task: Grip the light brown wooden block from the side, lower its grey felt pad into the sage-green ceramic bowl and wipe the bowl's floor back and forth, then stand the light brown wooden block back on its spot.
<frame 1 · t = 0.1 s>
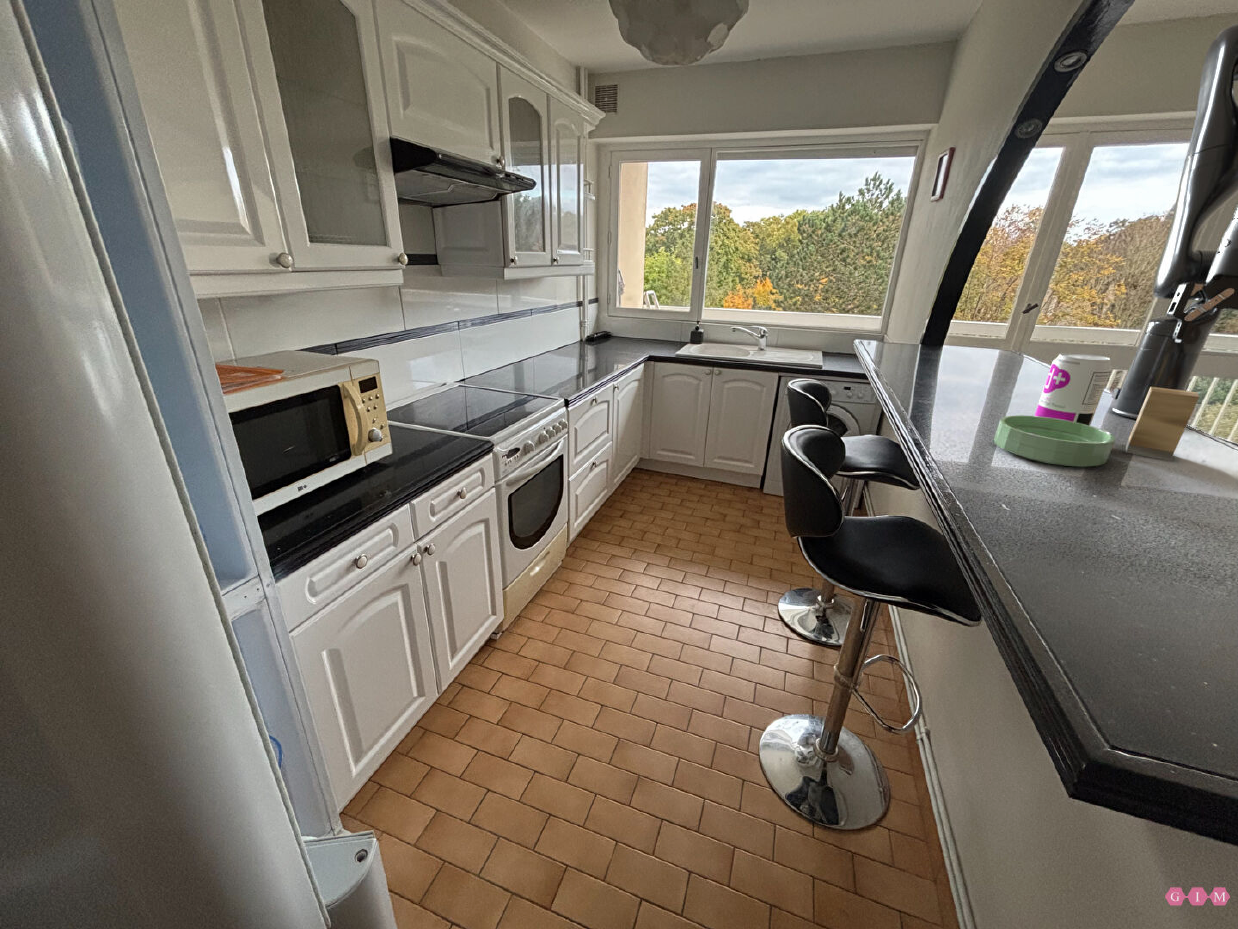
hand: (1211, 344, 92), 17 cm above the countertop, tool pointing down, fingers open, 8 cm apart
bowl: (1046, 452, 88), on the countertop
supplement can: (1055, 436, 97), on the countertop
light brown wooden block: (1147, 453, 88), on the countertop
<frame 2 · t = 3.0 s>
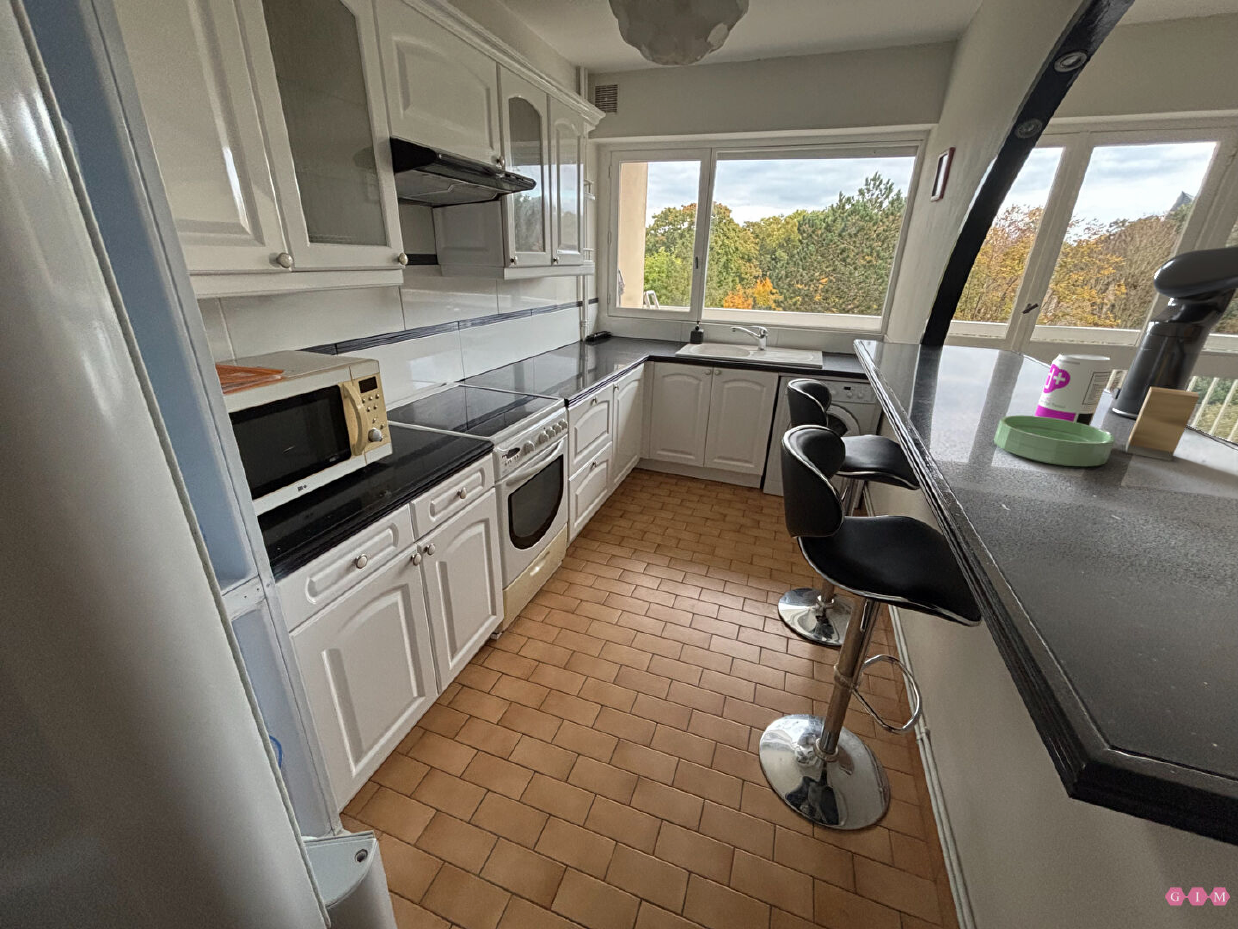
nothing on the countertop moved.
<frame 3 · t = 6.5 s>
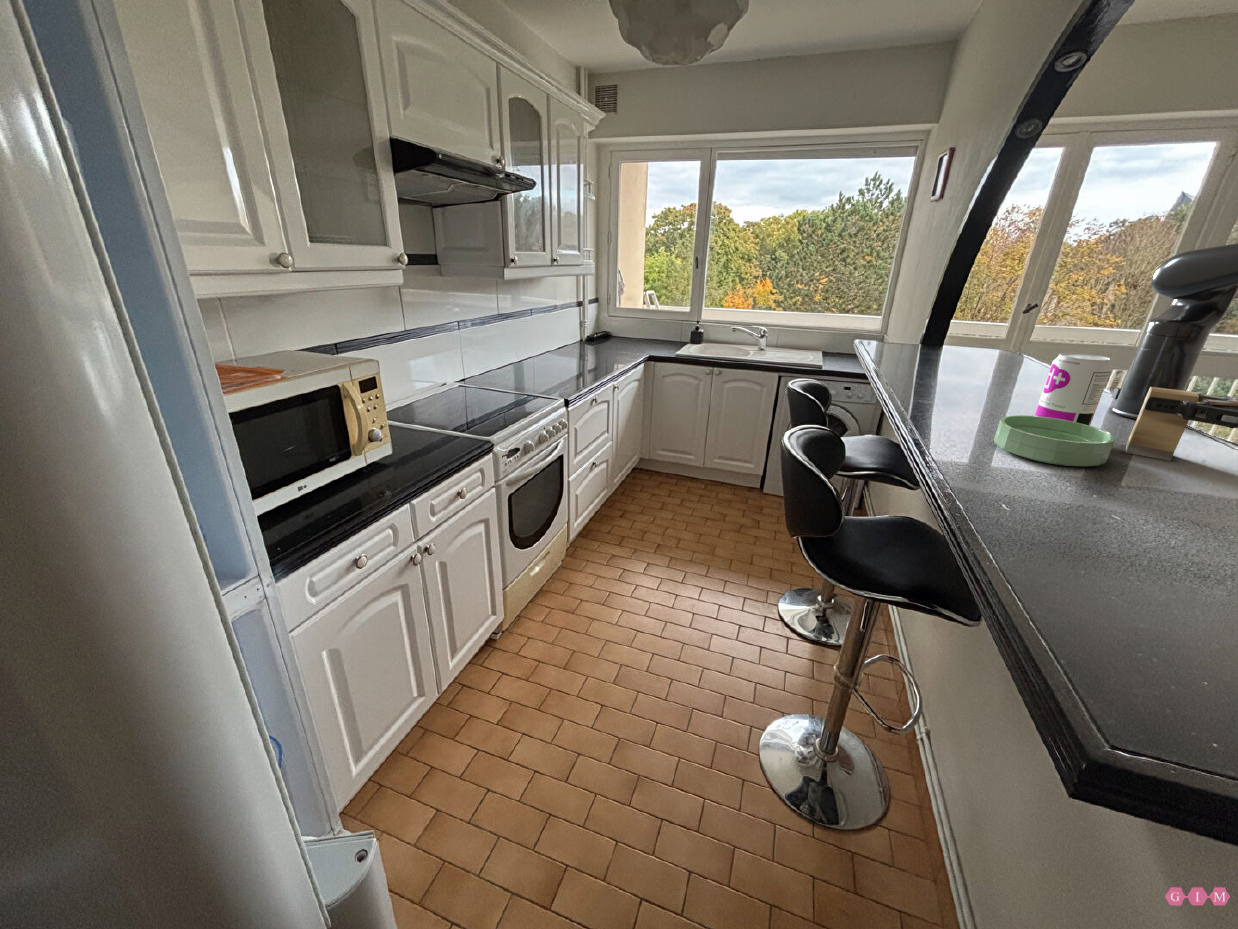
hand: (1146, 400, 86), 9 cm above the countertop, tool horizontal, fingers closed on light brown wooden block, 4 cm apart
light brown wooden block: (1147, 453, 88), on the countertop, touching gripper
everything else where it was.
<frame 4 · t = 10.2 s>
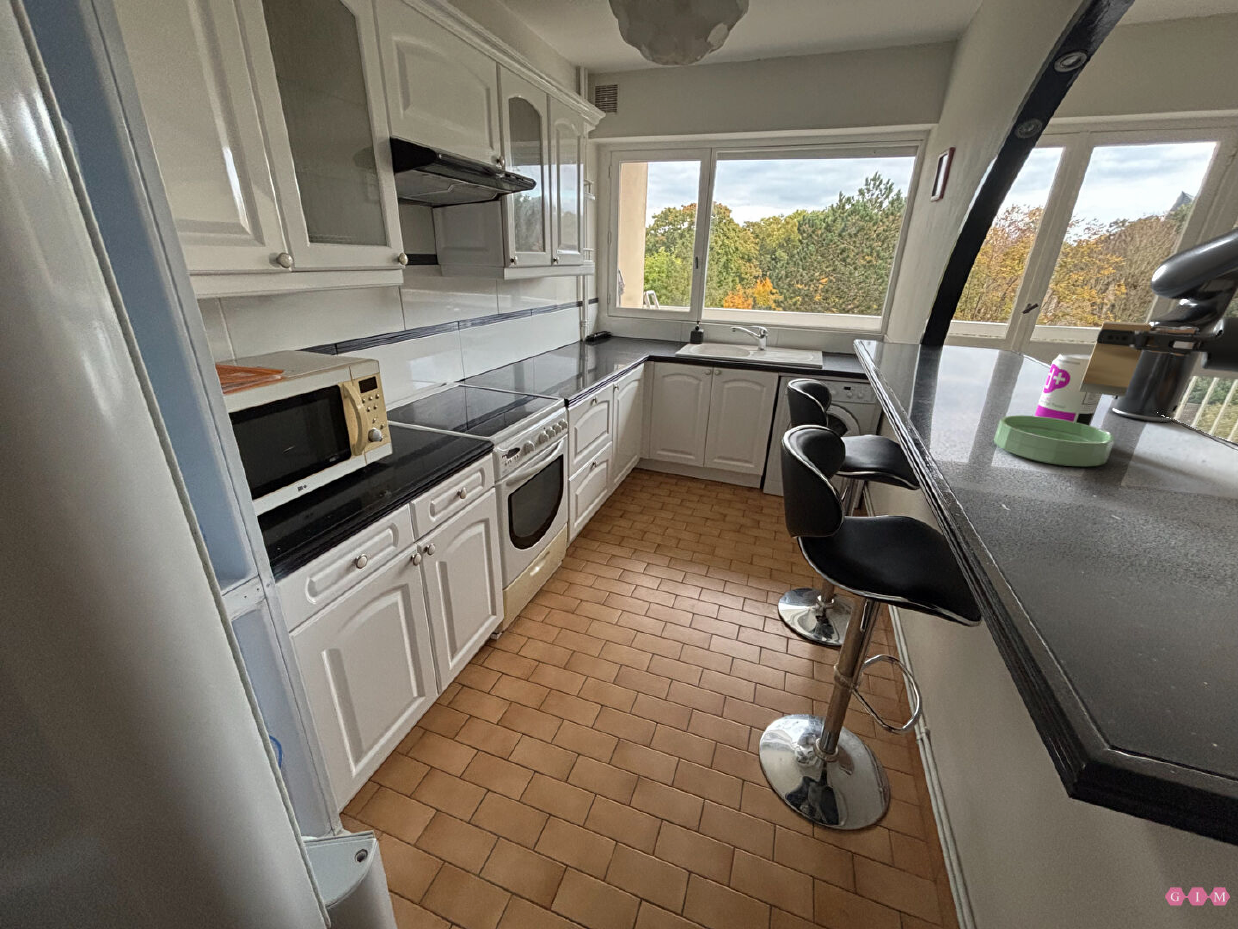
hand: (1099, 334, 82), 20 cm above the countertop, tool horizontal, fingers closed on light brown wooden block, 4 cm apart
light brown wooden block: (1101, 391, 83), point 11 cm above the countertop, touching gripper
everything else where it was.
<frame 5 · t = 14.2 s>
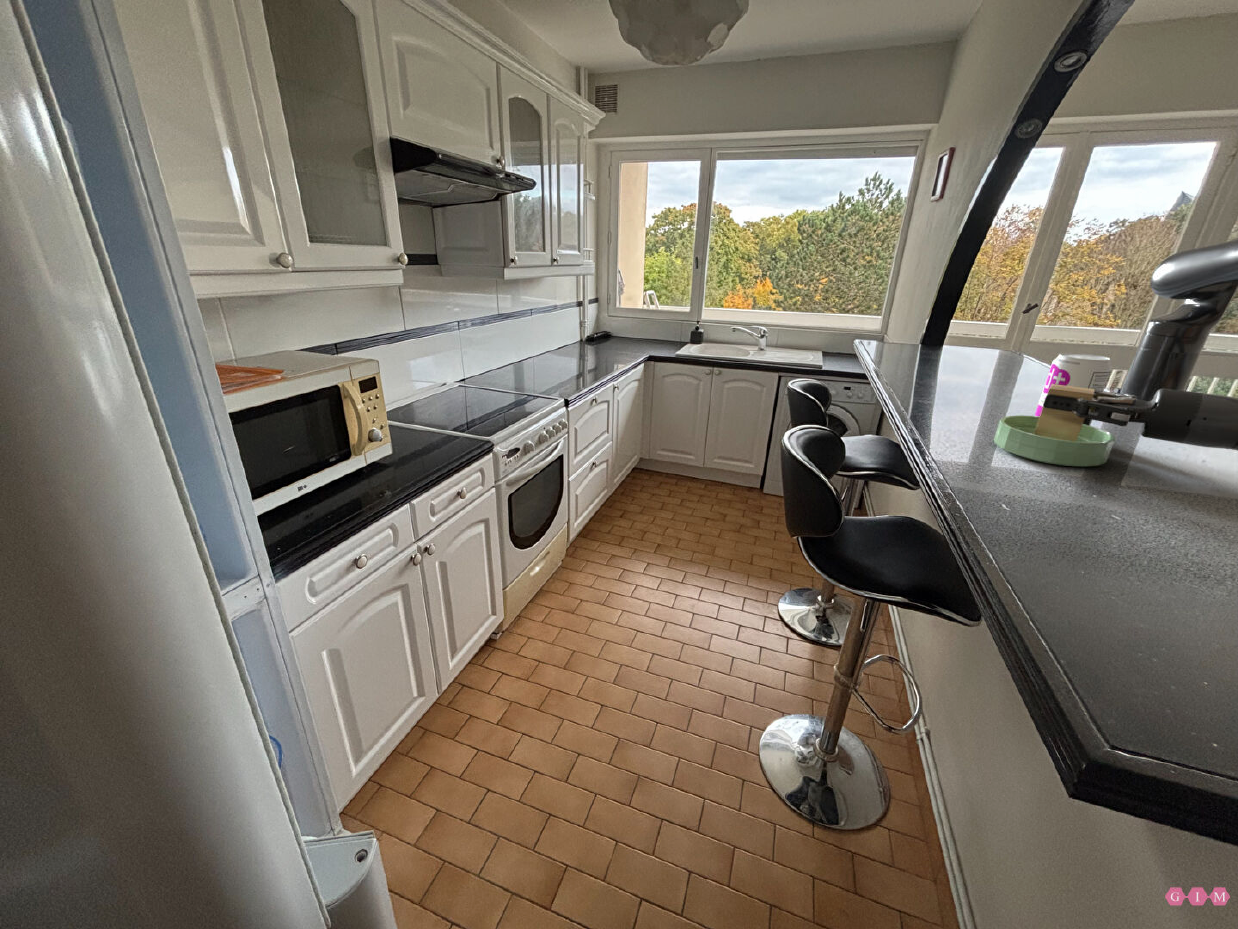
hand: (1047, 397, 85), 10 cm above the countertop, tool horizontal, fingers closed on light brown wooden block, 4 cm apart
light brown wooden block: (1049, 451, 86), point 1 cm above the countertop, touching gripper
everything else where it was.
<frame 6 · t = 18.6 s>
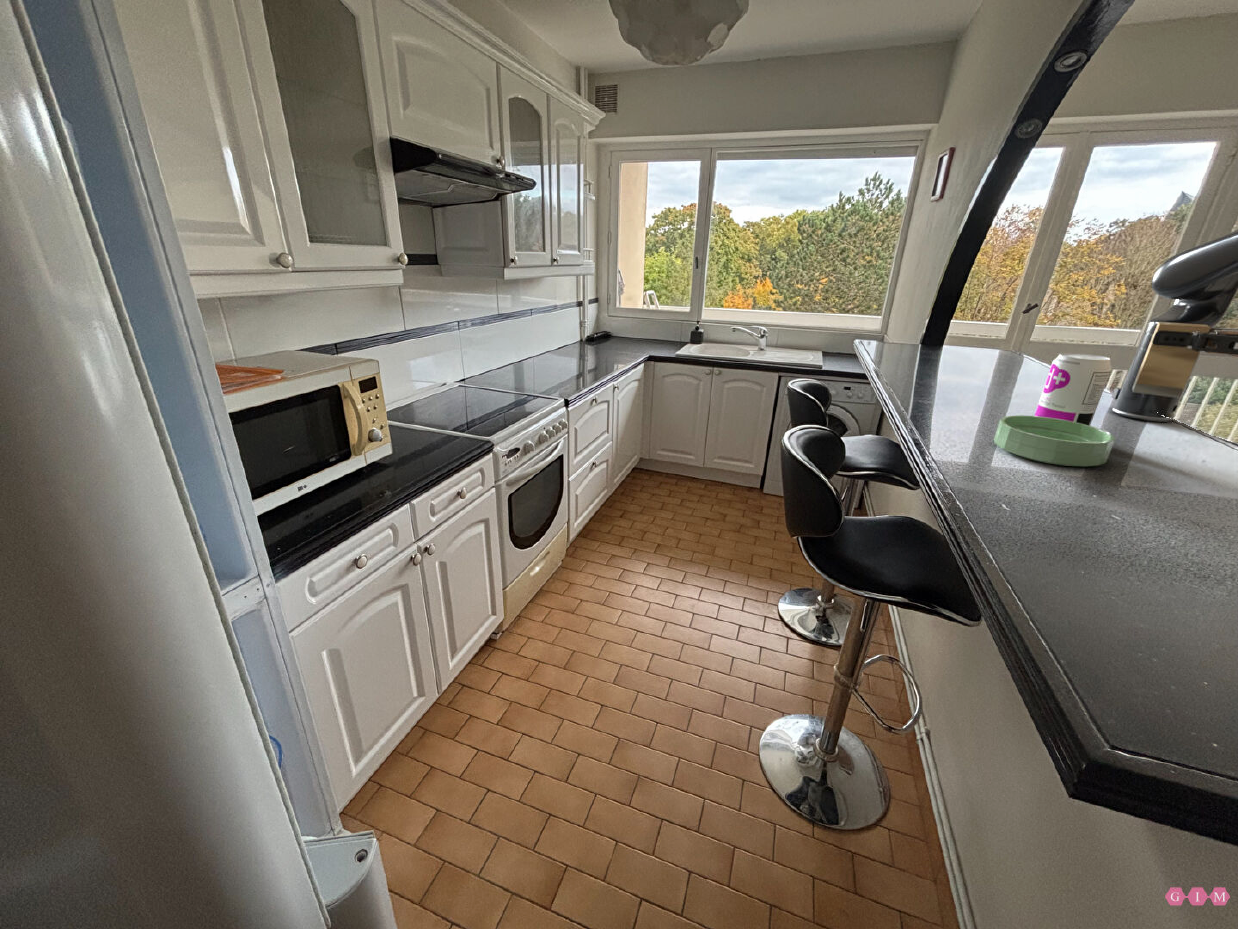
hand: (1154, 335, 82), 20 cm above the countertop, tool horizontal, fingers closed on light brown wooden block, 4 cm apart
light brown wooden block: (1155, 392, 84), point 11 cm above the countertop, touching gripper
everything else where it was.
when the fingers open (9 cm above the countertop, at t = 22.2 s): light brown wooden block stays where it is, on the countertop.
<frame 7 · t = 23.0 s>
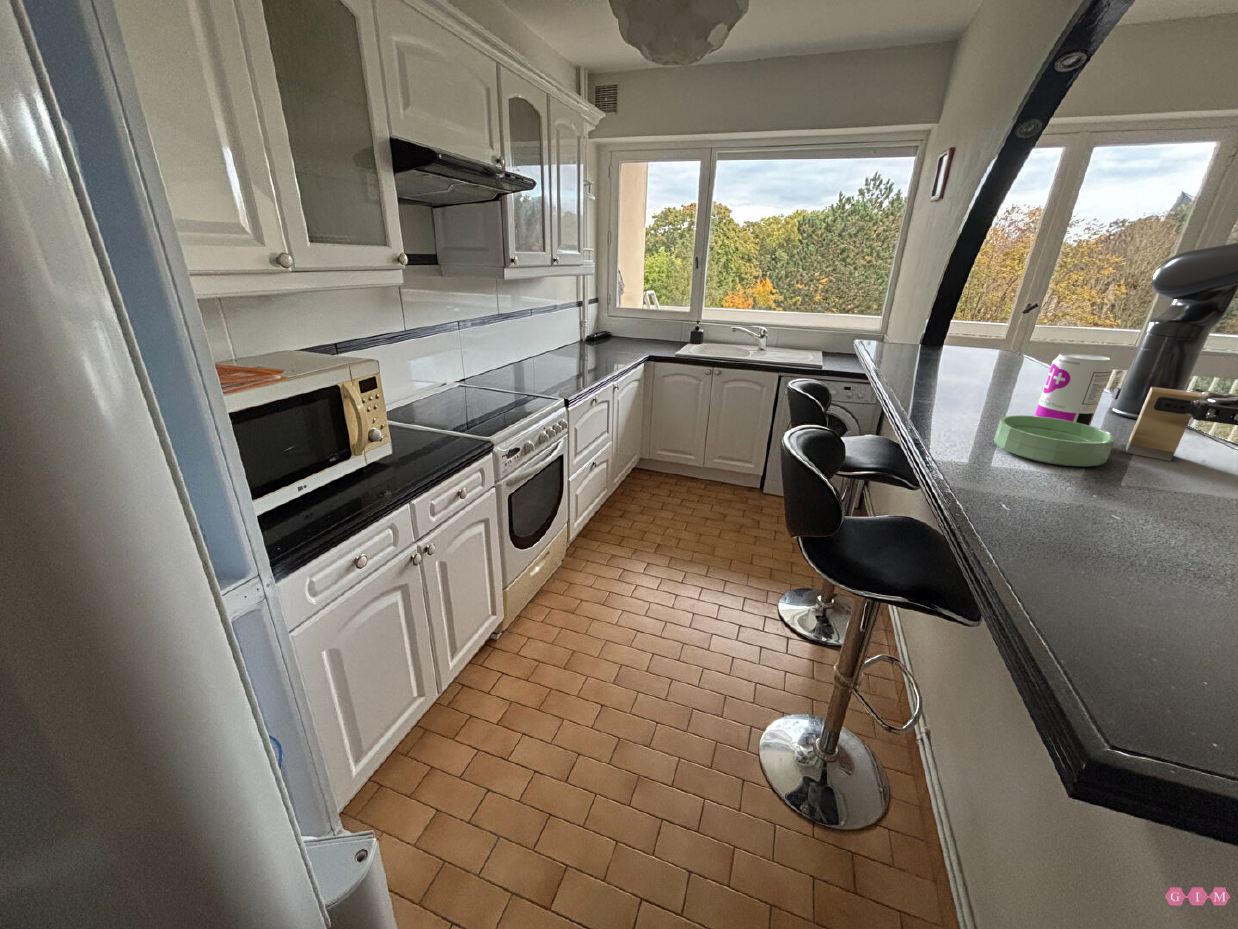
hand: (1154, 398, 86), 10 cm above the countertop, tool horizontal, fingers open, 8 cm apart
light brown wooden block: (1147, 453, 88), on the countertop
everything else where it was.
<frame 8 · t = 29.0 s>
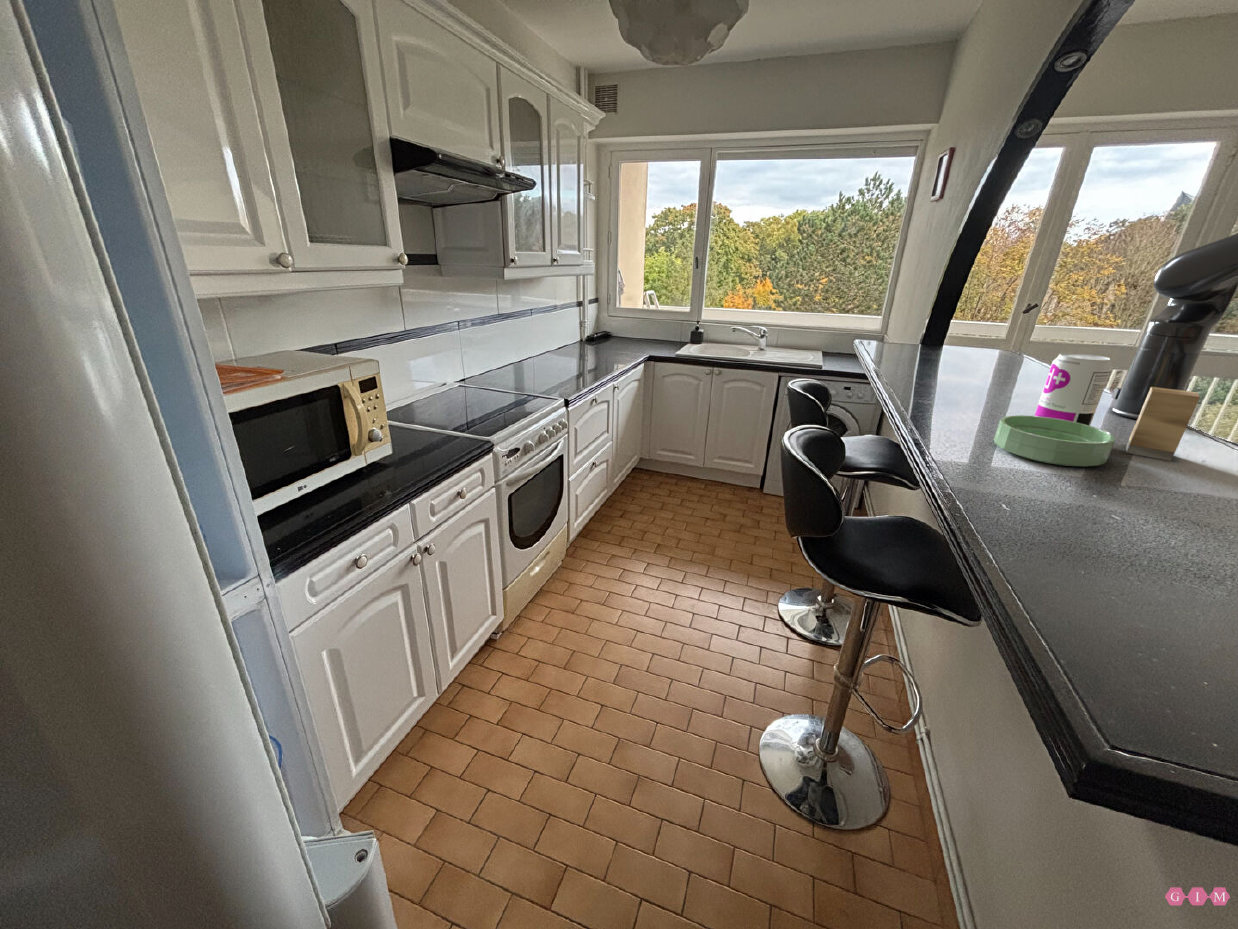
nothing on the countertop moved.
at the end: light brown wooden block 0.1 cm from the target spot, on the countertop; light brown wooden block tilted 0°; supplement can moved 0.2 cm from its start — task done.
